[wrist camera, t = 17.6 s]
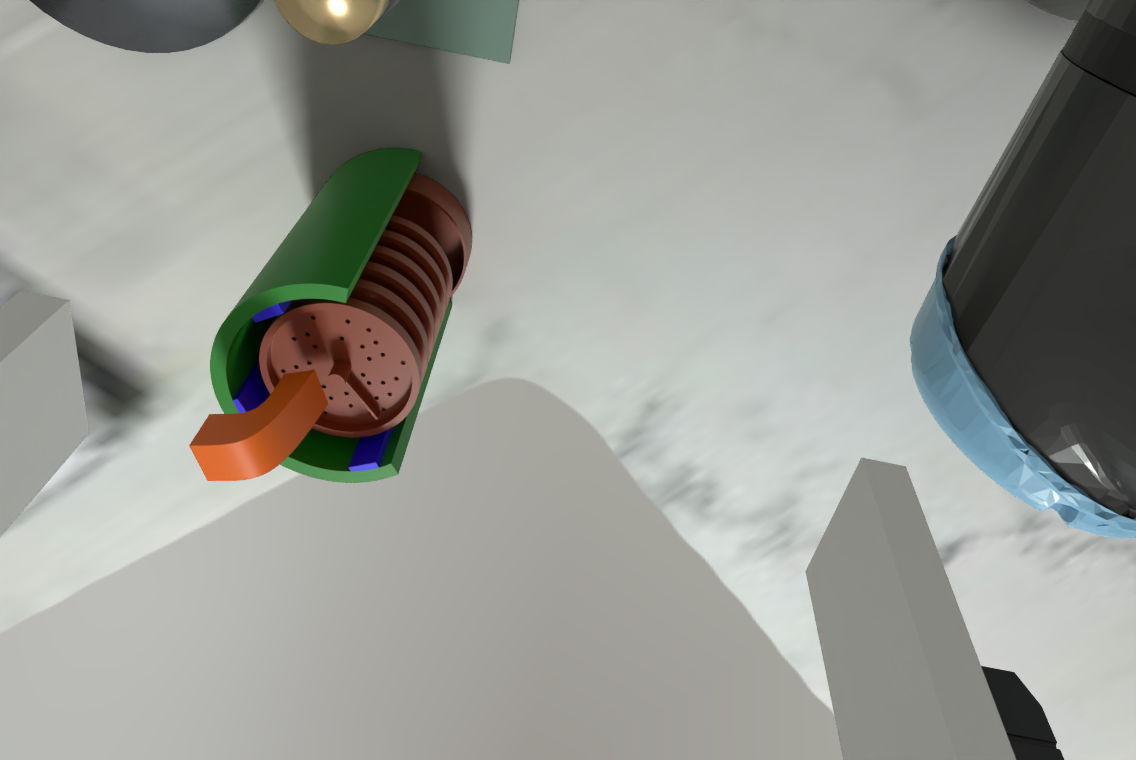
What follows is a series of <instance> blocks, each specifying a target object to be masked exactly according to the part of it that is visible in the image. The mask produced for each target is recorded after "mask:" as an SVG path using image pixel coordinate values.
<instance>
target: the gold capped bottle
mask: <svg viewBox="0 0 1136 760" xmlns="http://www.w3.org/2000/svg"><path fill="white" fill-rule="evenodd" d="M274 1H275V4H276V6H277V8H278V9H279V11H280V13H281V14H282V16H283V17H284V18H285V20H286V21H287V22H288V23H289V24H290V25H291V26H292V27H293V28H294V29H295V30H296V31H298V32H299V33H300V34H302V35H303V36H305V37H307V38H309V39H311V40H313V41H316V42H319V43H323V44H332V45H336V44H343V43H347V42H350V41H352V40H354V39H356V38H358V37H359V36H361V35H362V34H363V33H364V32H365V31H366V30H367V29H368V28H370V27H371V26H372V25H374V24H375V23H377V22H378V21H379V20H380V19H381V18H382V17H383V16H384V15H386V14H387V13H388V12H389V11H390V10H391V9H392V8H393V7H394V6H395V5H396V4H397V3H398V2H399V1H400V0H274Z"/></svg>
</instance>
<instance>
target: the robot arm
mask: <svg viewBox="0 0 1136 760" xmlns="http://www.w3.org/2000/svg"><path fill="white" fill-rule="evenodd" d="M1026 1H1028V2H1030V3H1031V4H1033V5H1035V6H1037V7H1038V8H1040V9H1042V10H1045V11H1047V12H1049V13H1051V14H1054V15H1057V16H1060V17H1063V18H1066V19H1070V20H1075V21H1078V23H1077V25H1076V26H1075V28H1074V30H1073V32H1072V34H1071V36H1070V37H1069V39H1068V41H1067V43H1066V45H1065V46H1064V48H1063V49H1062V50H1061V51H1060V53H1059V55H1058V57H1057V58H1056V60H1055V62H1054V64H1053V65H1052V67H1051V69H1050V71H1049V73H1048V74H1047V76H1046V78H1045V80H1044V81H1043V83H1042V85H1041V87H1040V89H1039V90H1038V92H1037V94H1036V96H1035V97H1034V99H1033V101H1032V103H1031V105H1030V106H1029V108H1028V110H1027V112H1026V113H1025V115H1024V117H1023V119H1022V120H1021V122H1020V124H1019V126H1018V128H1017V129H1016V131H1015V133H1014V135H1013V136H1012V138H1011V140H1010V142H1009V144H1008V145H1007V147H1006V149H1005V151H1004V152H1003V154H1002V156H1001V158H1000V160H999V161H998V163H997V165H996V167H995V168H994V170H993V172H992V174H991V176H990V177H989V179H988V181H987V183H986V184H985V186H984V188H983V190H982V192H981V193H980V195H979V197H978V199H977V200H976V202H975V204H974V206H973V208H972V209H971V211H970V213H969V215H968V216H967V218H966V220H965V222H964V224H963V225H962V227H961V229H960V231H959V232H958V234H957V235H956V236H955V237H953V238H952V239H950V240H949V242H948V243H947V245H946V247H945V248H944V250H943V252H942V253H941V256H940V259H939V262H938V265H937V272H936V278H935V280H934V282H933V284H932V286H931V288H930V290H929V292H928V294H927V296H926V298H925V300H924V302H923V304H922V306H921V308H920V310H919V312H918V314H917V316H916V319H915V321H914V324H913V327H912V332H911V336H910V347H911V351H912V356H911V362H912V372H913V376H914V379H915V382H916V384H917V387H918V389H919V392H920V394H921V396H922V398H923V400H924V402H925V404H926V405H927V407H928V409H929V411H930V412H931V414H932V415H933V417H934V418H935V420H936V421H937V423H938V424H939V426H940V427H941V428H942V430H943V431H944V432H945V433H946V435H947V436H948V437H949V438H950V439H951V440H952V442H953V443H954V444H955V445H956V446H957V447H958V448H959V449H960V450H961V451H962V453H963V454H964V455H965V456H966V457H967V458H968V459H969V460H970V461H972V462H973V463H974V464H975V465H976V466H977V467H978V468H979V469H980V470H981V471H983V472H984V473H985V474H986V475H987V476H989V477H990V478H991V479H992V480H993V481H995V482H996V483H997V484H998V485H1000V486H1001V487H1003V488H1004V489H1005V490H1007V491H1008V492H1009V493H1011V494H1012V495H1014V496H1015V497H1017V498H1018V499H1020V500H1022V501H1023V502H1025V503H1027V504H1028V505H1030V506H1032V507H1033V508H1035V509H1037V510H1039V511H1044V510H1047V509H1050V508H1051V507H1052V508H1053V509H1054V510H1055V511H1056V512H1057V513H1058V514H1059V515H1060V517H1061V518H1062V519H1063V520H1064V522H1065V523H1066V524H1067V525H1069V526H1072V527H1074V528H1077V529H1080V530H1082V531H1086V532H1089V533H1092V534H1096V535H1100V536H1106V537H1113V538H1136V0H1026ZM88 434H89V430H88V423H87V416H86V409H85V403H84V396H83V389H82V382H81V376H80V369H79V362H78V355H77V349H76V342H75V335H74V328H73V322H72V315H71V308H70V301H69V300H66V299H61V298H56V297H51V296H46V295H41V294H36V293H31V292H26V291H20V292H19V293H17V294H16V295H15V296H14V297H12V298H11V299H10V300H9V301H8V302H6V303H5V304H4V305H3V306H1V307H0V537H1V536H2V535H3V534H4V532H5V531H6V530H7V529H8V528H9V527H10V525H11V524H12V523H13V522H14V521H15V520H16V518H17V517H18V516H19V515H20V514H21V513H22V511H23V510H24V509H25V508H26V507H27V506H28V504H29V503H30V502H31V501H32V500H33V499H34V497H35V496H36V495H37V494H38V493H39V491H40V490H41V489H42V488H43V487H44V486H45V484H46V483H47V482H48V481H49V480H50V479H51V477H52V476H53V475H54V474H55V473H56V472H57V470H58V469H59V468H60V467H61V466H62V465H63V463H64V462H65V461H66V460H67V459H68V458H69V456H70V455H71V454H72V453H73V452H74V451H75V449H76V448H77V447H78V446H79V445H80V443H81V442H82V441H83V440H84V439H85V438H86V436H87V435H88ZM806 575H807V580H808V585H809V590H810V595H811V600H812V605H813V610H814V615H815V620H816V625H817V630H818V635H819V640H820V645H821V650H822V655H823V660H824V665H825V670H826V675H827V680H828V685H829V690H830V695H831V700H832V705H833V710H834V715H835V719H836V725H837V729H838V735H839V740H840V745H841V750H842V755H843V760H1064V758H1063V756H1062V753H1061V751H1060V749H1057V748H1056V743H1057V741H1056V739H1055V737H1054V734H1053V732H1052V730H1051V727H1050V725H1049V723H1048V720H1047V718H1046V716H1045V713H1044V711H1043V709H1042V706H1041V705H1040V704H1039V703H1038V701H1037V700H1036V699H1035V698H1034V696H1033V695H1032V694H1031V693H1030V691H1029V690H1028V689H1027V688H1026V686H1025V685H1024V684H1023V683H1022V681H1021V680H1020V679H1019V678H1018V676H1017V675H1016V674H1015V673H1014V672H1010V671H1005V670H999V669H994V668H989V667H984V666H981V665H980V662H979V660H978V657H977V654H976V652H975V649H974V646H973V644H972V641H971V638H970V636H969V633H968V630H967V628H966V625H965V622H964V620H963V617H962V614H961V612H960V609H959V606H958V604H957V601H956V599H955V596H954V593H953V591H952V588H951V585H950V583H949V580H948V577H947V575H946V572H945V569H944V567H943V564H942V561H941V559H940V556H939V553H938V551H937V548H936V545H935V543H934V540H933V537H932V535H931V532H930V530H929V527H928V524H927V522H926V519H925V516H924V514H923V511H922V508H921V506H920V503H919V500H918V498H917V495H916V492H915V490H914V487H913V484H912V482H911V479H910V476H909V474H908V471H907V468H906V466H901V465H896V464H891V463H886V462H881V461H876V460H871V459H866V458H861V460H860V462H859V464H858V466H857V468H856V470H855V472H854V474H853V476H852V478H851V480H850V482H849V484H848V486H847V488H846V490H845V492H844V494H843V496H842V498H841V500H840V503H839V505H838V507H837V509H836V511H835V513H834V515H833V517H832V519H831V521H830V523H829V525H828V527H827V529H826V531H825V533H824V535H823V537H822V539H821V541H820V543H819V545H818V547H817V549H816V551H815V553H814V556H813V558H812V560H811V562H810V564H809V566H808V568H807V570H806Z"/></svg>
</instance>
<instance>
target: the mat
mask: <svg viewBox="0 0 1136 760" xmlns="http://www.w3.org/2000/svg"><path fill="white" fill-rule="evenodd" d="M518 3H519V0H400V1H399V2H398V3H397V4H396V5H395V6H394V7H393V8H392V9H391V10H390V11H389V12H388V13H387V14H386V15H384V16H383V17H382V18H381V19H380V20H379V21H378V22H377V23H375V24H374V25H372V26H371V27H370V28H368V29H367V30H366V31H365V32H364V33H363V34H368V35H373V36H377V37H382V38H387V39H392V40H397V41H402V42H406V43H411V44H416V45H421V46H426V47H430V48H435V49H440V50H445V51H450V52H455V53H459V54H464V55H469V56H474V57H479V58H483V59H488V60H493V61H498V62H503V63H508V64H509V63H510V59H511V52H512V45H513V38H514V31H515V24H516V17H517V10H518Z"/></svg>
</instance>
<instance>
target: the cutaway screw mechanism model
mask: <svg viewBox="0 0 1136 760" xmlns="http://www.w3.org/2000/svg"><path fill="white" fill-rule="evenodd" d="M420 157H421V152H419V151H415V150H410V149H402V148H386V149H378V150H373V151H369V152H366V153H363V154H361V155H358V156H356V157H354V158H352V159H351V160H349V161H347V162H346V163H344V164H343V165H342V166H341V167H339V168H338V169H337V170H336V171H335V172H334V173H333V174H332V176H331V177H330V178H329V180H328V181H327V182H326V184H325V185H324V186H323V188H322V189H321V190H320V192H319V193H318V195H317V196H316V197H315V199H314V200H313V201H312V203H311V204H310V205H309V207H308V208H307V209H306V211H305V212H304V214H303V215H302V216H301V218H300V219H299V220H298V222H297V223H296V224H295V226H294V227H293V229H292V230H291V231H290V233H289V234H288V235H287V237H286V238H285V239H284V241H283V242H282V243H281V245H280V246H279V248H278V249H277V250H276V252H275V253H274V254H273V256H272V257H271V258H270V260H269V261H268V263H267V264H266V265H265V267H264V268H263V269H262V271H261V272H260V273H259V275H258V276H257V278H256V279H255V280H254V282H253V283H252V284H251V286H250V287H249V288H248V290H247V291H246V292H245V294H244V295H243V297H242V298H241V299H240V301H239V302H238V303H237V305H236V306H235V307H234V309H233V310H232V312H231V313H230V314H229V316H228V317H227V318H226V320H225V321H224V323H223V324H222V325H221V327H220V329H219V331H218V333H217V335H216V337H215V340H214V343H213V347H212V351H211V359H210V372H211V380H212V385H213V388H214V392H215V395H216V397H217V400H218V402H219V404H220V406H221V408H222V410H223V412H224V414H209V416H208V418H207V419H206V421H205V422H204V424H203V425H202V427H201V428H200V430H199V431H198V433H197V434H196V436H195V438H194V439H193V441H192V442H191V444H190V445H189V446H190V448H191V450H192V452H193V454H194V456H195V458H196V459H197V461H198V463H199V465H200V467H201V469H202V471H203V473H204V475H205V477H206V479H207V480H208V481H236V480H246V479H252V478H256V477H259V476H261V475H264V474H266V473H268V472H269V471H271V470H272V469H274V468H275V467H277V466H278V465H279V464H280V465H282V466H284V467H286V468H288V469H291V470H293V471H295V472H298V473H301V474H303V475H307V476H310V477H313V478H318V479H322V480H327V481H335V482H345V483H359V482H370V481H376V480H381V479H385V478H388V477H392V476H395V475H397V474H398V473H399V470H400V467H401V464H402V461H403V458H404V455H405V451H406V448H407V445H408V442H409V439H410V436H411V433H412V430H413V427H414V423H415V420H416V417H417V414H418V411H419V408H420V405H421V402H422V398H423V395H424V392H425V389H426V386H427V383H428V380H429V377H430V373H431V370H432V367H433V364H434V361H435V358H436V355H437V352H438V348H439V345H440V342H441V339H442V336H443V333H444V330H445V327H446V323H447V320H448V317H449V314H450V311H451V308H452V304H451V302H450V301H449V299H450V297H451V296H452V294H453V293H454V292H455V291H456V290H457V288H458V287H459V285H460V283H461V281H462V279H463V276H464V273H465V270H466V267H467V263H468V260H469V257H470V254H471V248H472V232H471V227H470V223H469V220H468V218H467V215H466V213H465V211H464V209H463V208H462V206H461V204H460V203H459V202H458V200H457V199H456V198H455V197H454V196H453V195H452V194H451V193H450V192H449V191H448V190H447V189H446V188H445V187H443V186H442V185H440V184H439V183H437V182H436V181H434V180H432V179H430V178H428V177H426V176H423V175H420V174H417V173H415V171H416V169H417V167H418V165H419V162H420Z"/></svg>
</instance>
